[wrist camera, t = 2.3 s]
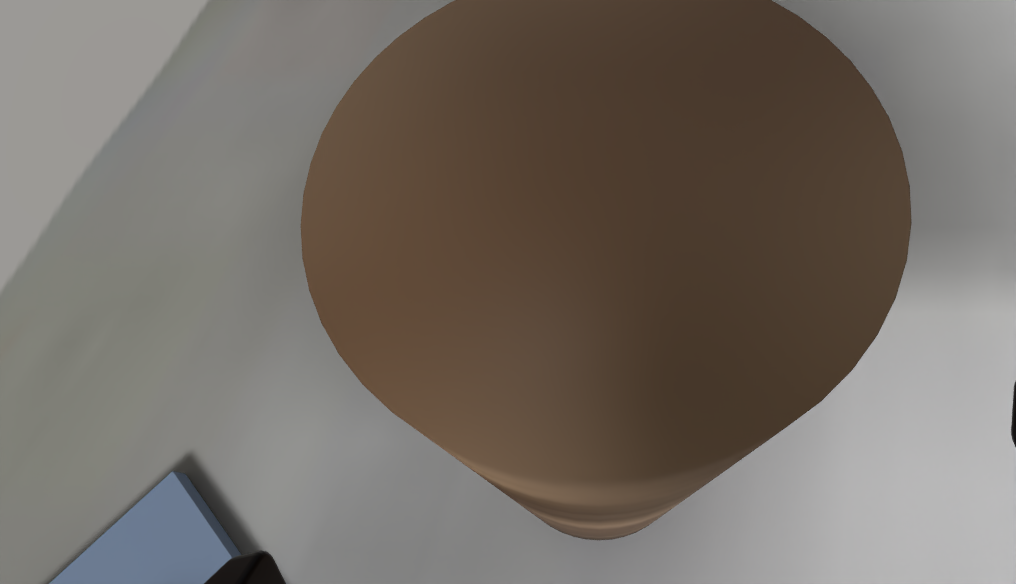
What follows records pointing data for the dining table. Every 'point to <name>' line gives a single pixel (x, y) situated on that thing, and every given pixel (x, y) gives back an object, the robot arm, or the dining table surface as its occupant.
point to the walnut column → (605, 240)
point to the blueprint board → (157, 542)
